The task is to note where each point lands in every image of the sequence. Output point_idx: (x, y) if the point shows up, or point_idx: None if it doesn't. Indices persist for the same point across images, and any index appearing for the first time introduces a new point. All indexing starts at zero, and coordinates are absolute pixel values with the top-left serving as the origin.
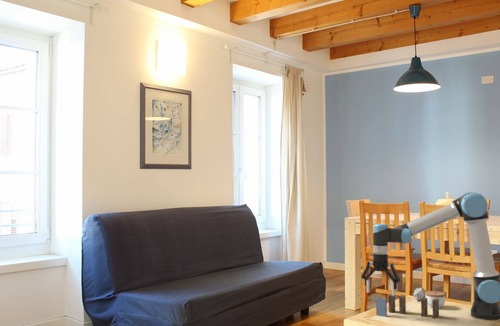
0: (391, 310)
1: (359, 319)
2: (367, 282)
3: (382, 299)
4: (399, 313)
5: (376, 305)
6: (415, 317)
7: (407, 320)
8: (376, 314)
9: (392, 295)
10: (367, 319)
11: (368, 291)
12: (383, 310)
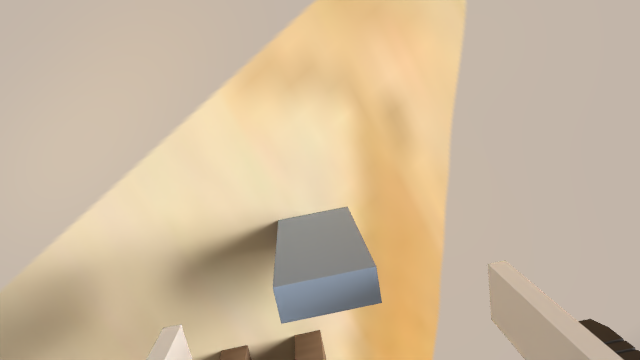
0: (302, 344)
1: (392, 15)
2: (596, 357)
3: (304, 277)
4: (247, 347)
5: (358, 236)
6: (114, 334)
7: (106, 232)
8: (347, 208)
9: (173, 330)
10: (343, 59)
11: (496, 291)
12: (294, 234)
